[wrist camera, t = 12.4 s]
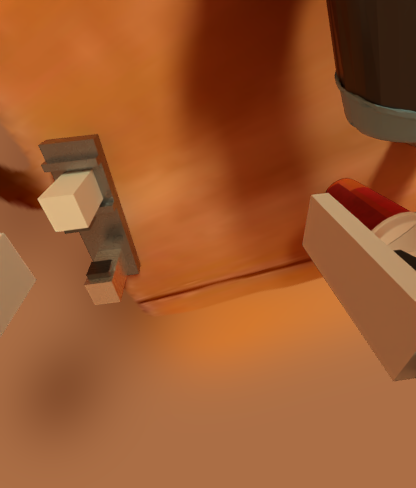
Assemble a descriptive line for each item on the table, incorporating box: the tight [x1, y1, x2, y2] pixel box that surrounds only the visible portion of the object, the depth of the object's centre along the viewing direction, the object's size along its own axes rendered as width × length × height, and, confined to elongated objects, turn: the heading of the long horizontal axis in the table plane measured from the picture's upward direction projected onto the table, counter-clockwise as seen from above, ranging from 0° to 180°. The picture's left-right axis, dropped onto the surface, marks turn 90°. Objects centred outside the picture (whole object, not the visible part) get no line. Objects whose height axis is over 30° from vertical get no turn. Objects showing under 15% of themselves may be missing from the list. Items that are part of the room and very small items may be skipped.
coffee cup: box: [326, 178, 416, 257], centre depth 38 cm, size 8×8×15 cm
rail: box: [38, 134, 140, 305], centre depth 38 cm, size 24×7×10 cm, turn 5°
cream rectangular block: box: [38, 169, 103, 234], centre depth 33 cm, size 6×4×8 cm
